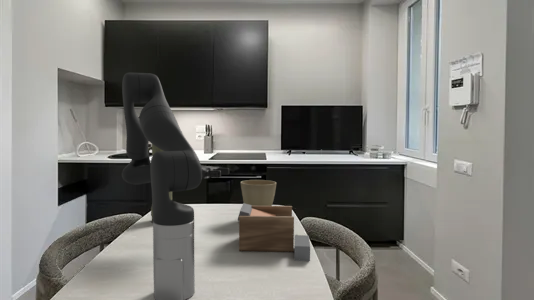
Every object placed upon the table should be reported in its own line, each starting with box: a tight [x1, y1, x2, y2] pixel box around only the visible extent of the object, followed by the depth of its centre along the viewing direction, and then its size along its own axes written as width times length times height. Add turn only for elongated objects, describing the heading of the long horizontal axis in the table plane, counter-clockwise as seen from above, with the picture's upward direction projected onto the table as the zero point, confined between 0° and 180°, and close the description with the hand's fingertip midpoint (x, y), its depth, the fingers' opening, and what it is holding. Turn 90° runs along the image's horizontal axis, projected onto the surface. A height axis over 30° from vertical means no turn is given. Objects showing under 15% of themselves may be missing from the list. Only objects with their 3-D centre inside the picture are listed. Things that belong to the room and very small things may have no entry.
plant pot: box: [240, 179, 277, 206], centre depth 154 cm, size 15×15×16 cm
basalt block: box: [293, 234, 311, 262], centre depth 113 cm, size 4×4×11 cm
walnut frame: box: [238, 205, 295, 253], centre depth 123 cm, size 16×17×11 cm
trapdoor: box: [237, 202, 276, 222], centre depth 123 cm, size 13×12×3 cm
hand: (224, 172), depth 123 cm, fingers open, 8 cm apart
